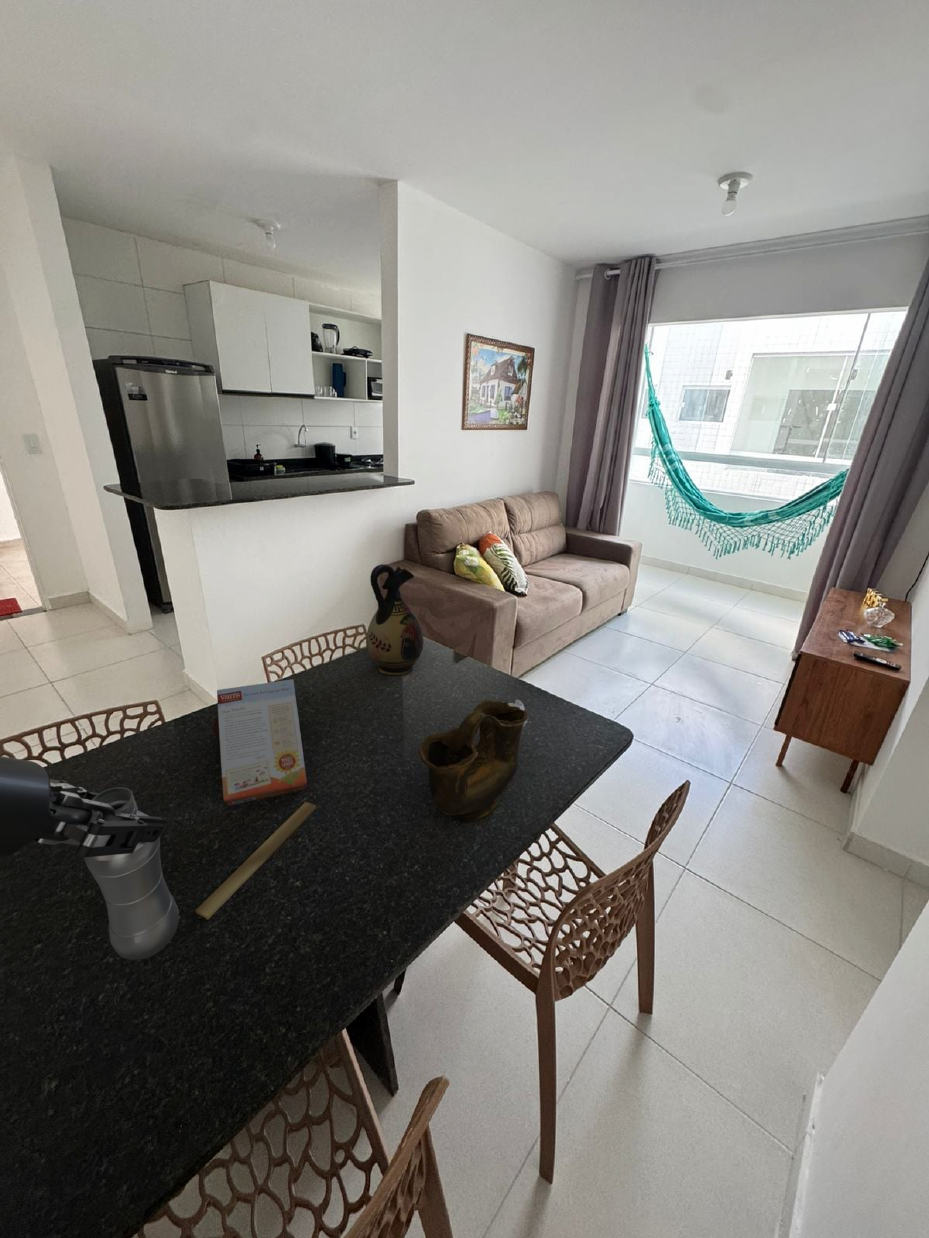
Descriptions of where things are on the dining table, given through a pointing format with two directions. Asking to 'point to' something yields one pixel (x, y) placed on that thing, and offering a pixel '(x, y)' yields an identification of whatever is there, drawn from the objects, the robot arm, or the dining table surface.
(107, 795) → the plastic bottle
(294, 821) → the strip
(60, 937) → the dining table surface
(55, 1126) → the dining table surface
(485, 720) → the pottery vessel
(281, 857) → the dining table surface
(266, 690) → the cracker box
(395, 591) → the ceramic jug
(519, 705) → the elephant figurine
